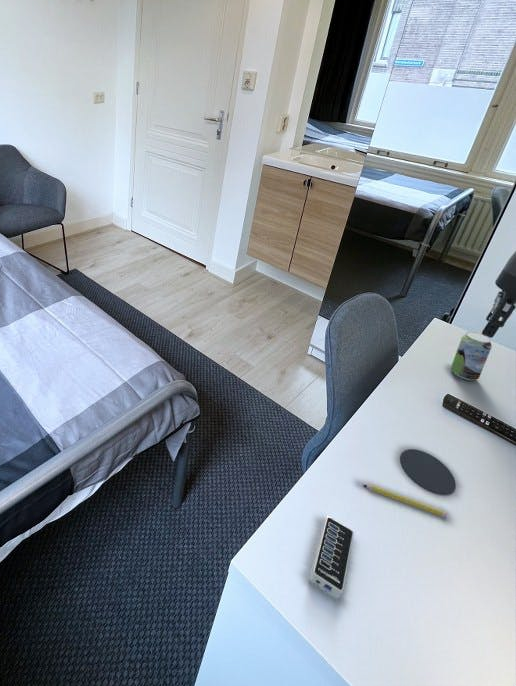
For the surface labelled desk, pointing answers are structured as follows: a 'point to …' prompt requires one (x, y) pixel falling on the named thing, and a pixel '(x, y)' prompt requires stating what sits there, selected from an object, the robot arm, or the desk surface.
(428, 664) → the desk surface
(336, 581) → the multiport hub
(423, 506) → the pencil
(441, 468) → the coaster
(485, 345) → the beverage can
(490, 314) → the robot arm
